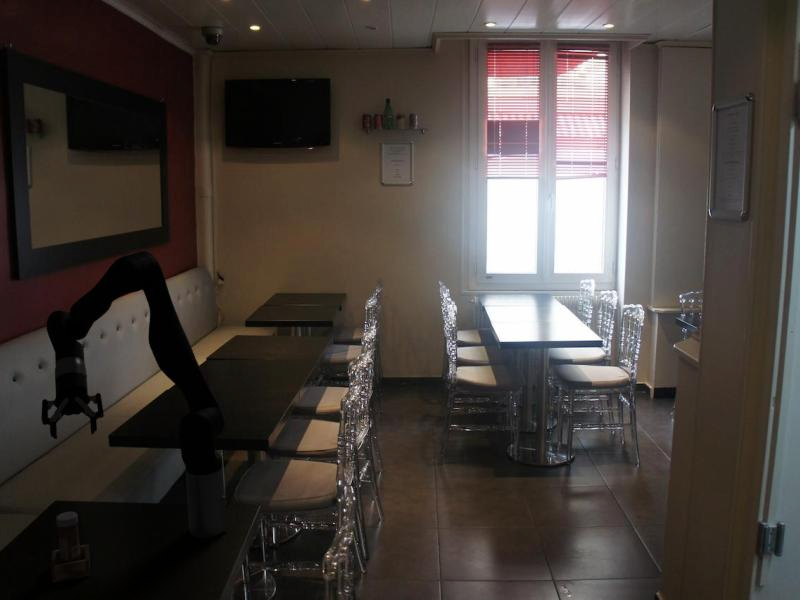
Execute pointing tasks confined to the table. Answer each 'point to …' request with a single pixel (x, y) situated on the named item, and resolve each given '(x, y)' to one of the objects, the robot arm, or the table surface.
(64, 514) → the sprinkles bottle
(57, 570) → the oak socket block
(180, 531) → the table surface
